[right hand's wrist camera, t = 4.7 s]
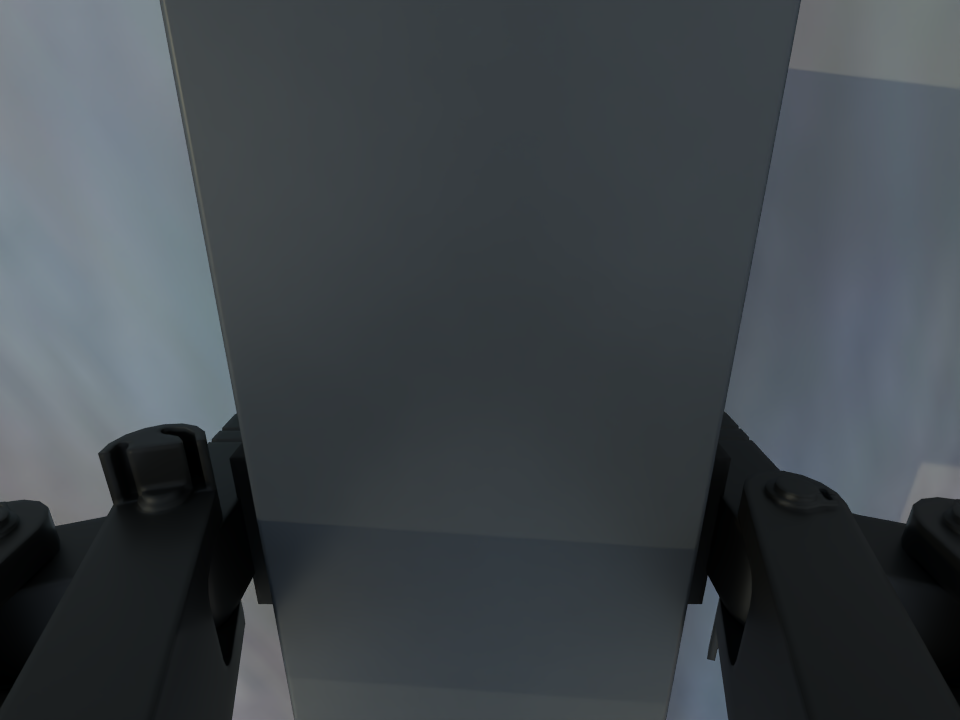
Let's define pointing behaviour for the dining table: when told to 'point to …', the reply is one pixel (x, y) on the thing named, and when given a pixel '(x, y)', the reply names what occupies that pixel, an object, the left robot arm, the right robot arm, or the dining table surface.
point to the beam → (480, 328)
